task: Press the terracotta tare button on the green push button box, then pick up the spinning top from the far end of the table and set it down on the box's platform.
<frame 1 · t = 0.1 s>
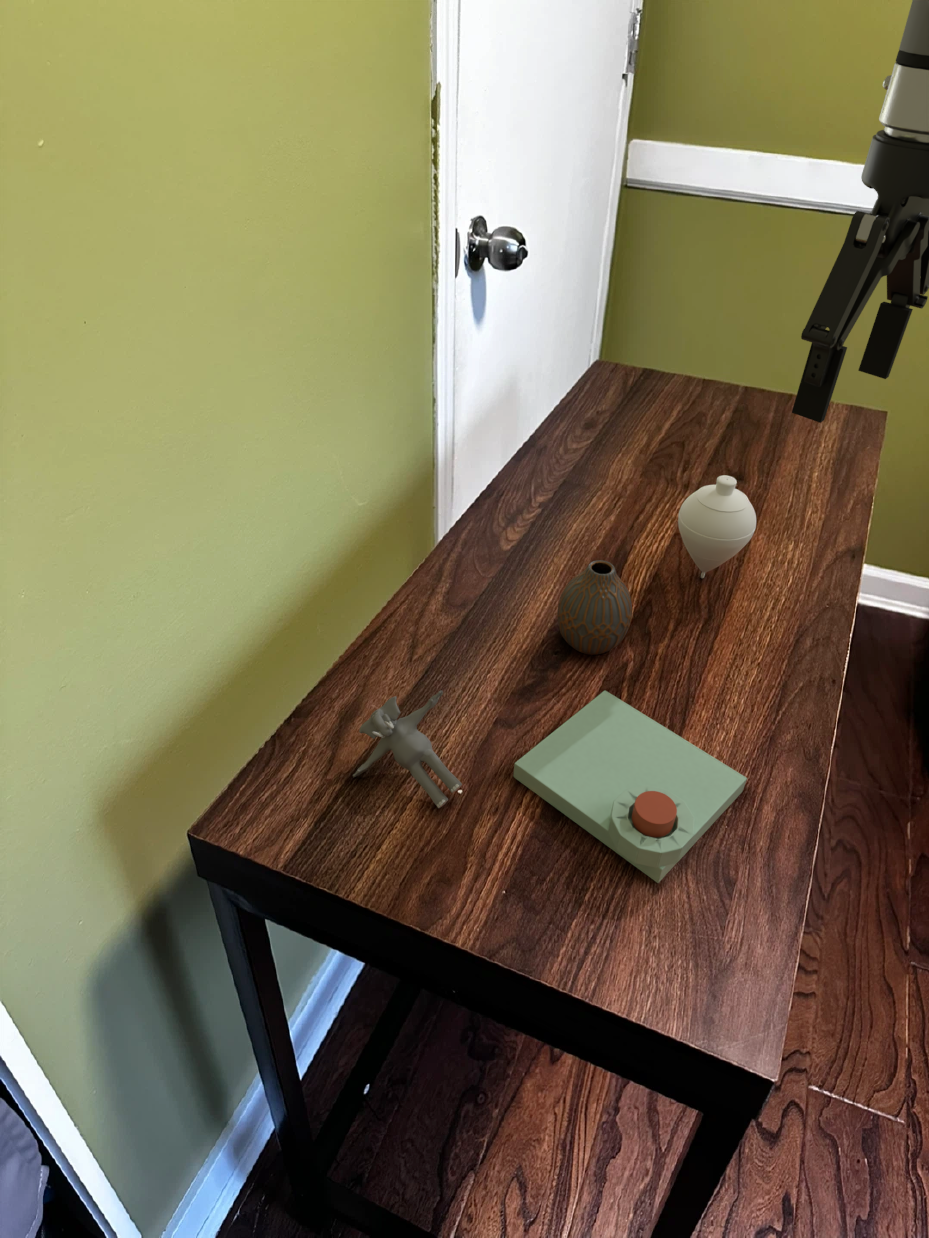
hand: (841, 394, 79), 21 cm above the table, tool pointing down, fingers open, 13 cm apart
tare button: (653, 813, 62), point 4 cm above the table, slide at 0.1 cm
spinning top: (701, 579, 91), on the table
vase: (589, 642, 83), on the table
elephant figurine: (416, 771, 70), on the table
green push button box: (627, 784, 69), on the table
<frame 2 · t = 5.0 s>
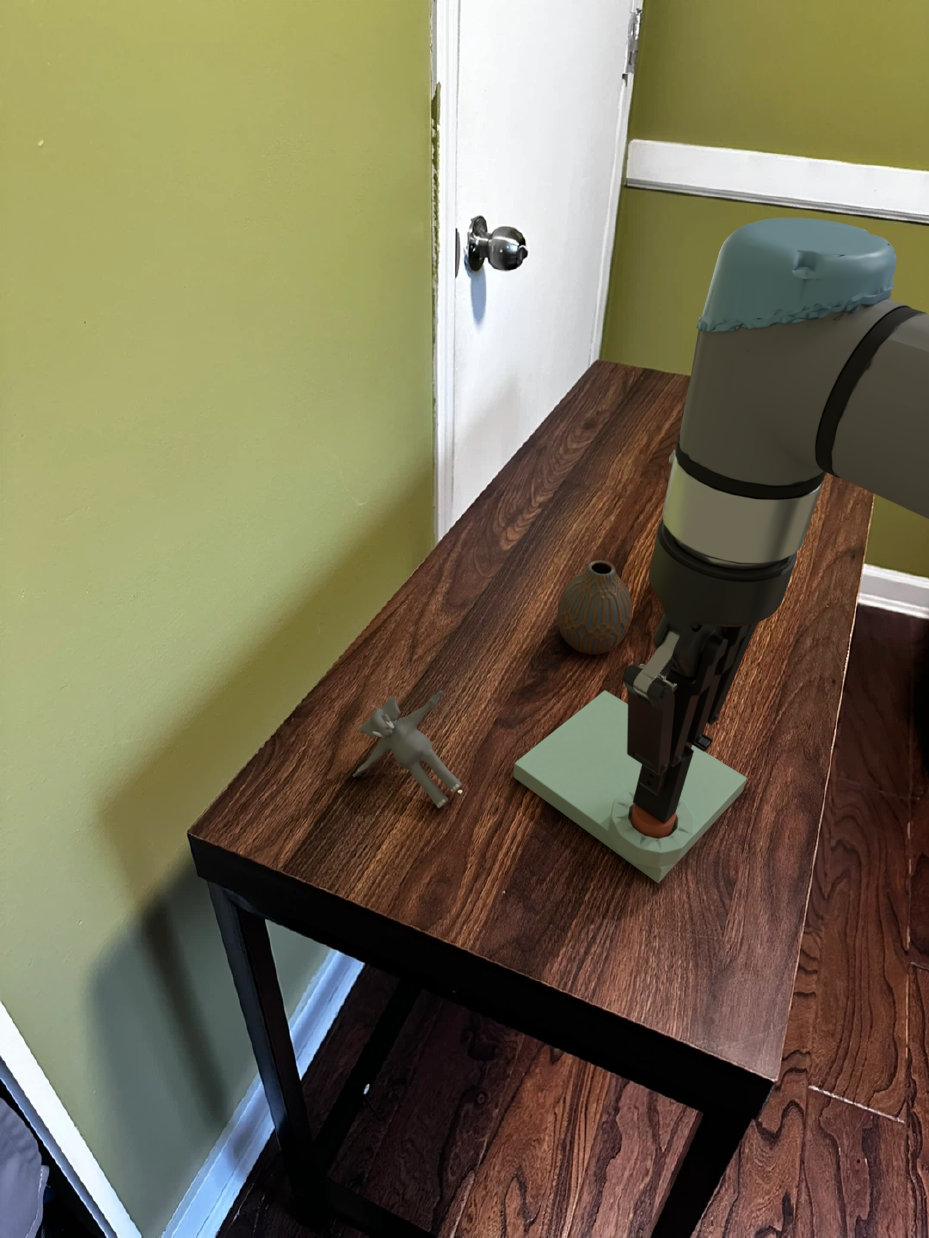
hand: (654, 806, 61), 5 cm above the table, tool pointing down, fingers closed
tare button: (653, 817, 62), point 4 cm above the table, slide at -0.2 cm, touching gripper
everything else where it was.
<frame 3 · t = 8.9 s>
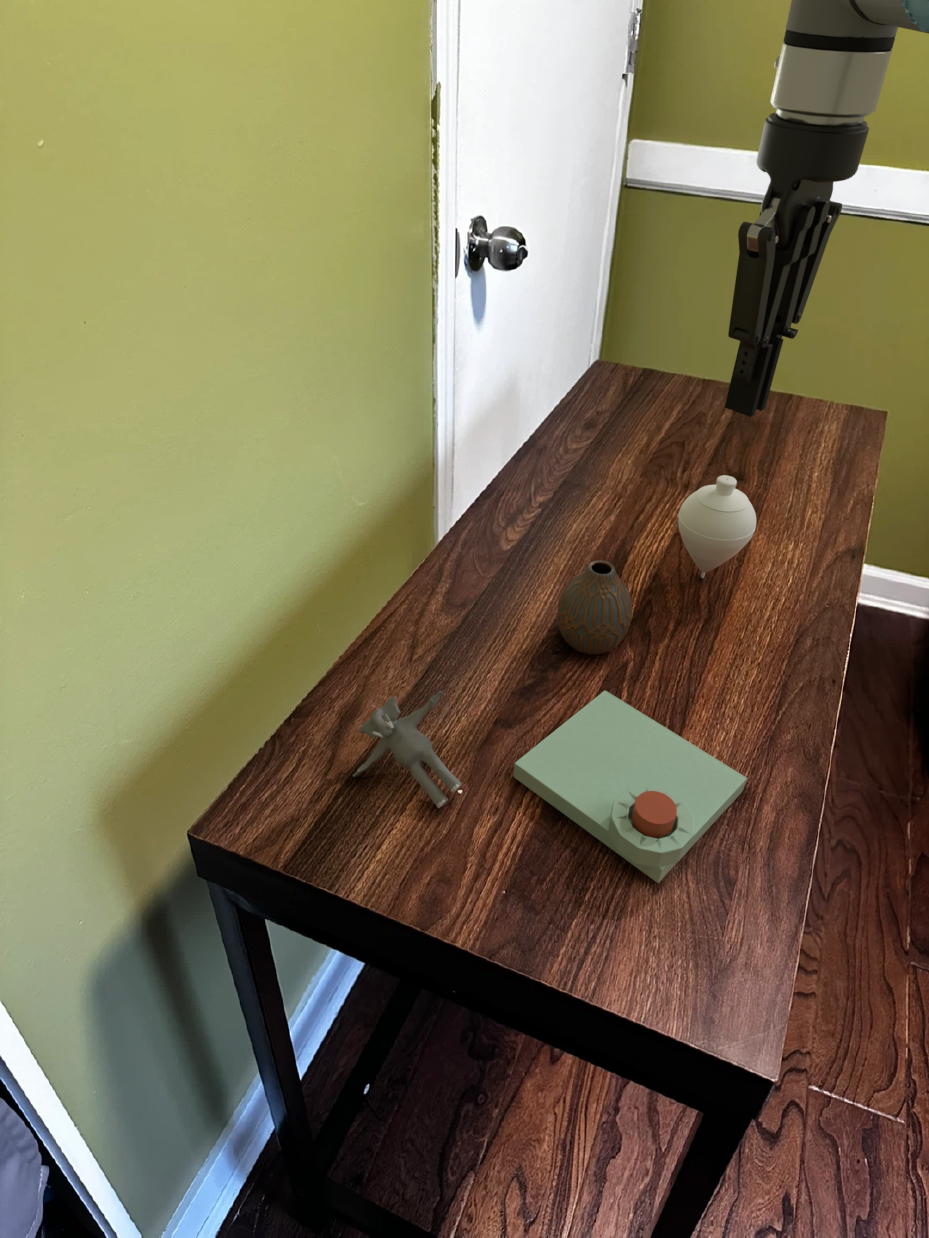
hand: (744, 407, 79), 20 cm above the table, tool pointing down, fingers closed
tare button: (654, 813, 62), point 4 cm above the table, slide at 0.1 cm
everything else where it was.
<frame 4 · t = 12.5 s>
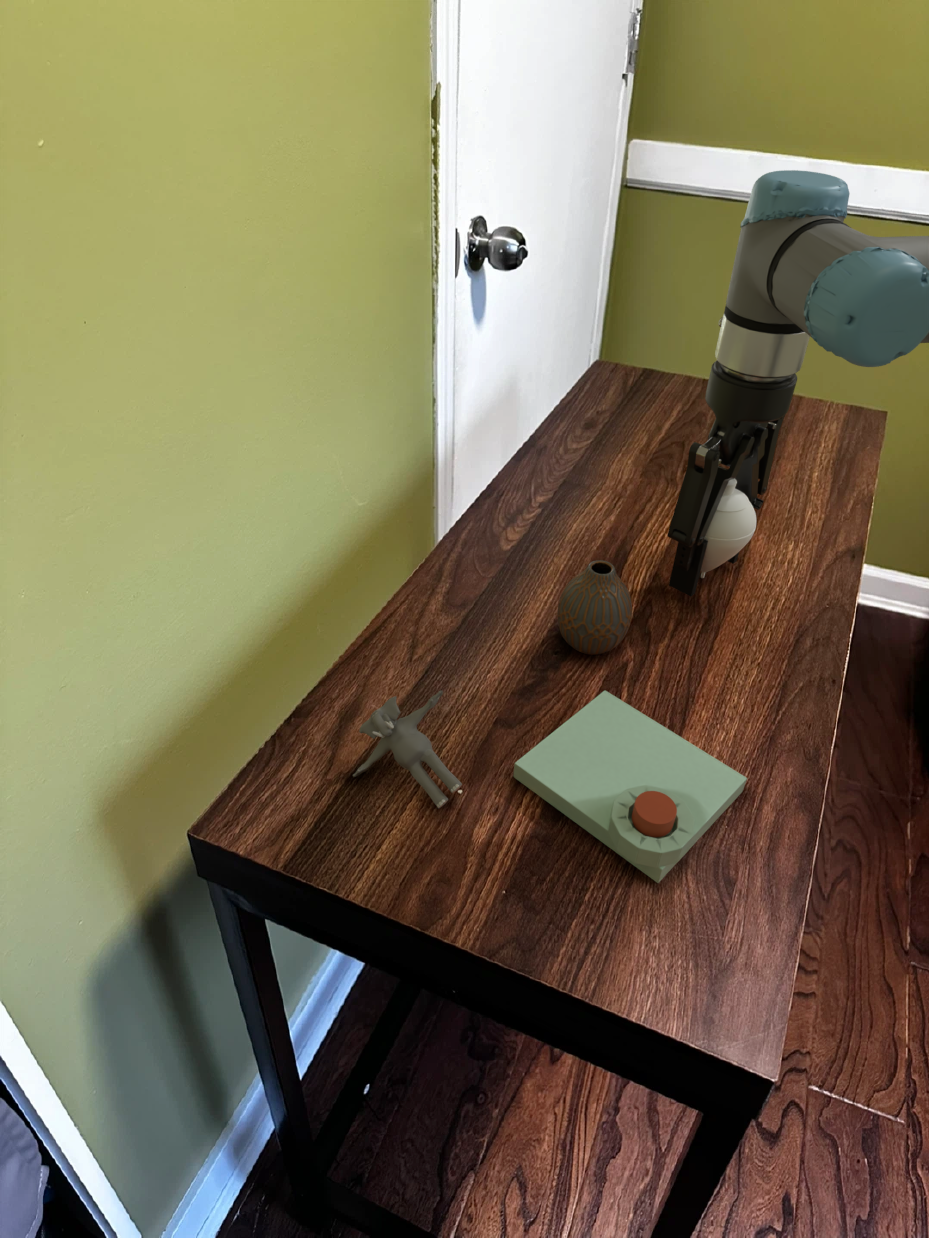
hand: (703, 572, 91), 1 cm above the table, tool pointing down, fingers closed on spinning top, 8 cm apart
spinning top: (701, 579, 91), on the table, touching gripper
everything else where it was.
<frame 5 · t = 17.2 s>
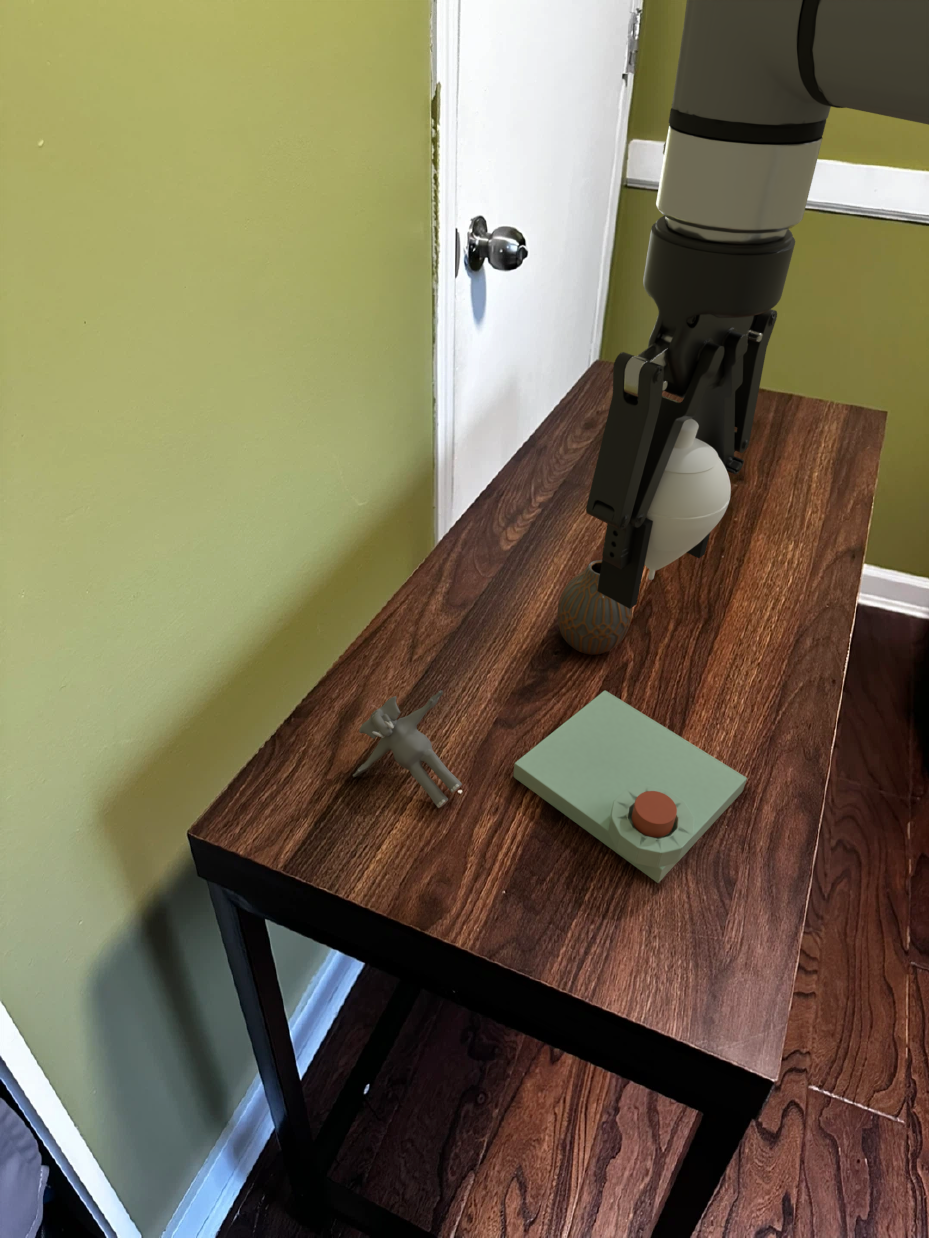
hand: (652, 571, 60), 19 cm above the table, tool pointing down, fingers closed on spinning top, 8 cm apart
spinning top: (650, 581, 60), point 18 cm above the table, touching gripper
everything else where it was.
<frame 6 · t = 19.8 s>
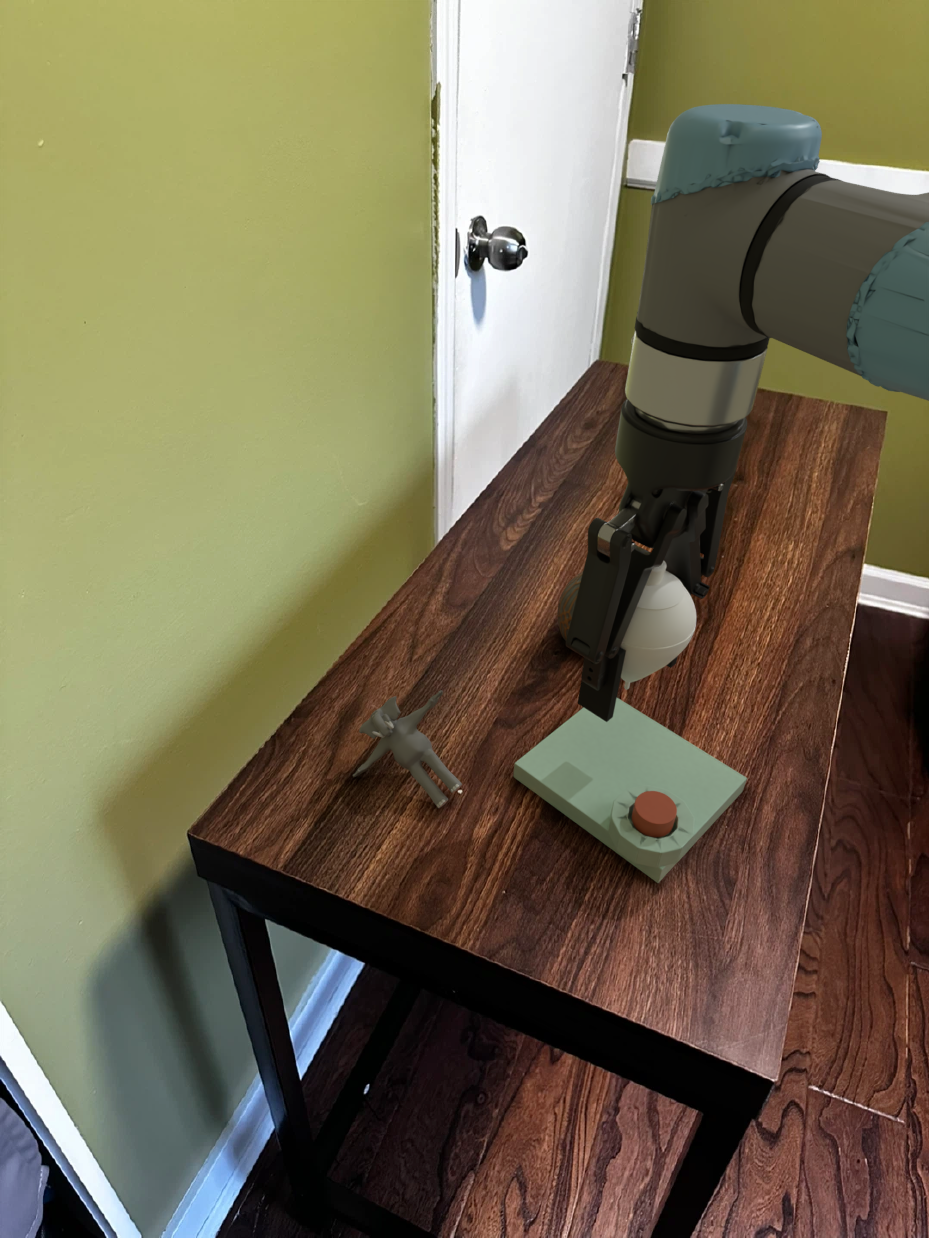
hand: (628, 682, 66), 9 cm above the table, tool pointing down, fingers closed on spinning top, 8 cm apart
spinning top: (626, 690, 66), point 8 cm above the table, touching gripper
everything else where it was.
when the fingers open (2 cm above the table, at t = 22.1 s): spinning top stays where it is, resting on green push button box.
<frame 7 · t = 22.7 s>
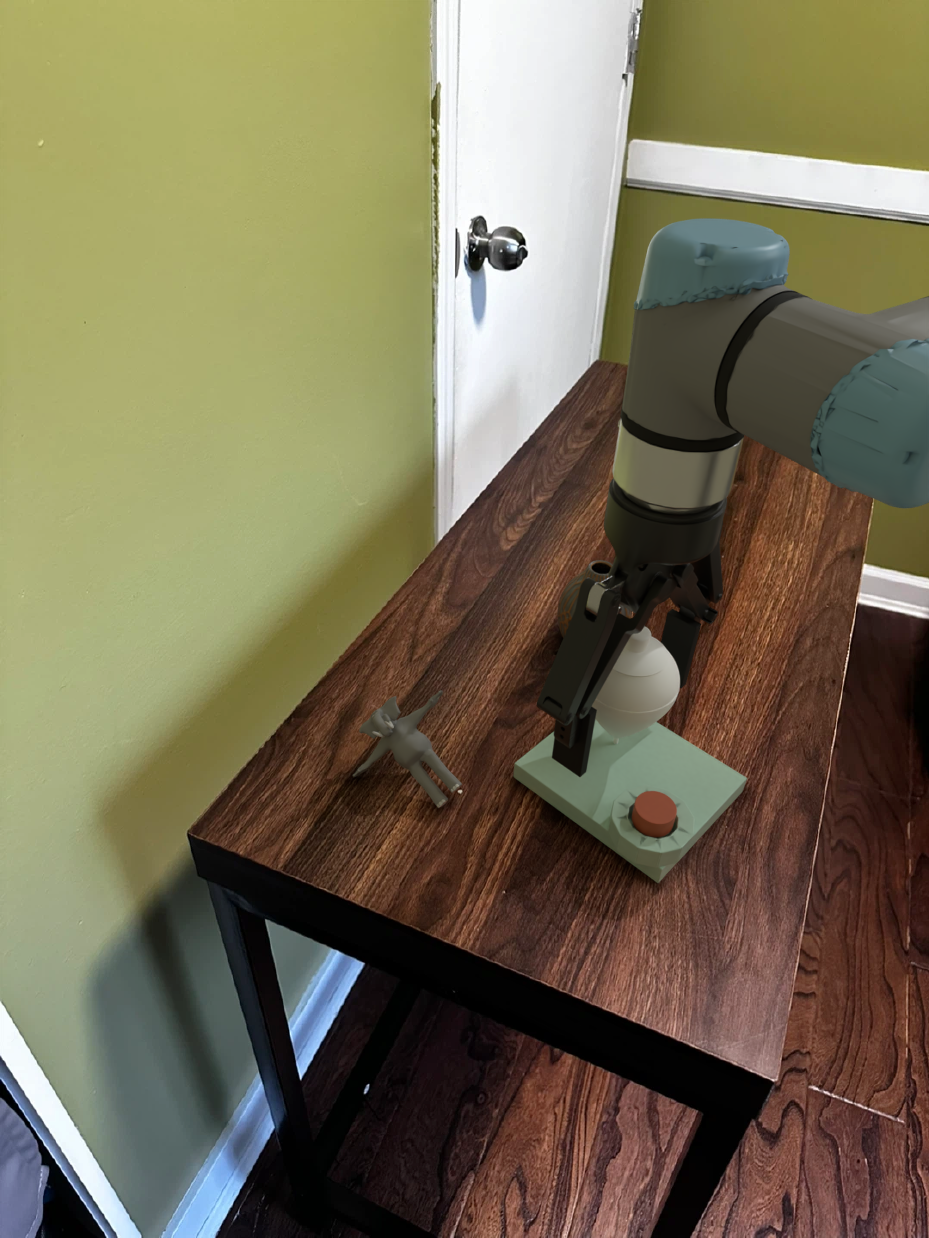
hand: (622, 719, 68), 5 cm above the table, tool pointing down, fingers open, 13 cm apart
spinning top: (615, 744, 70), point 2 cm above the table, touching green push button box
everything else where it was.
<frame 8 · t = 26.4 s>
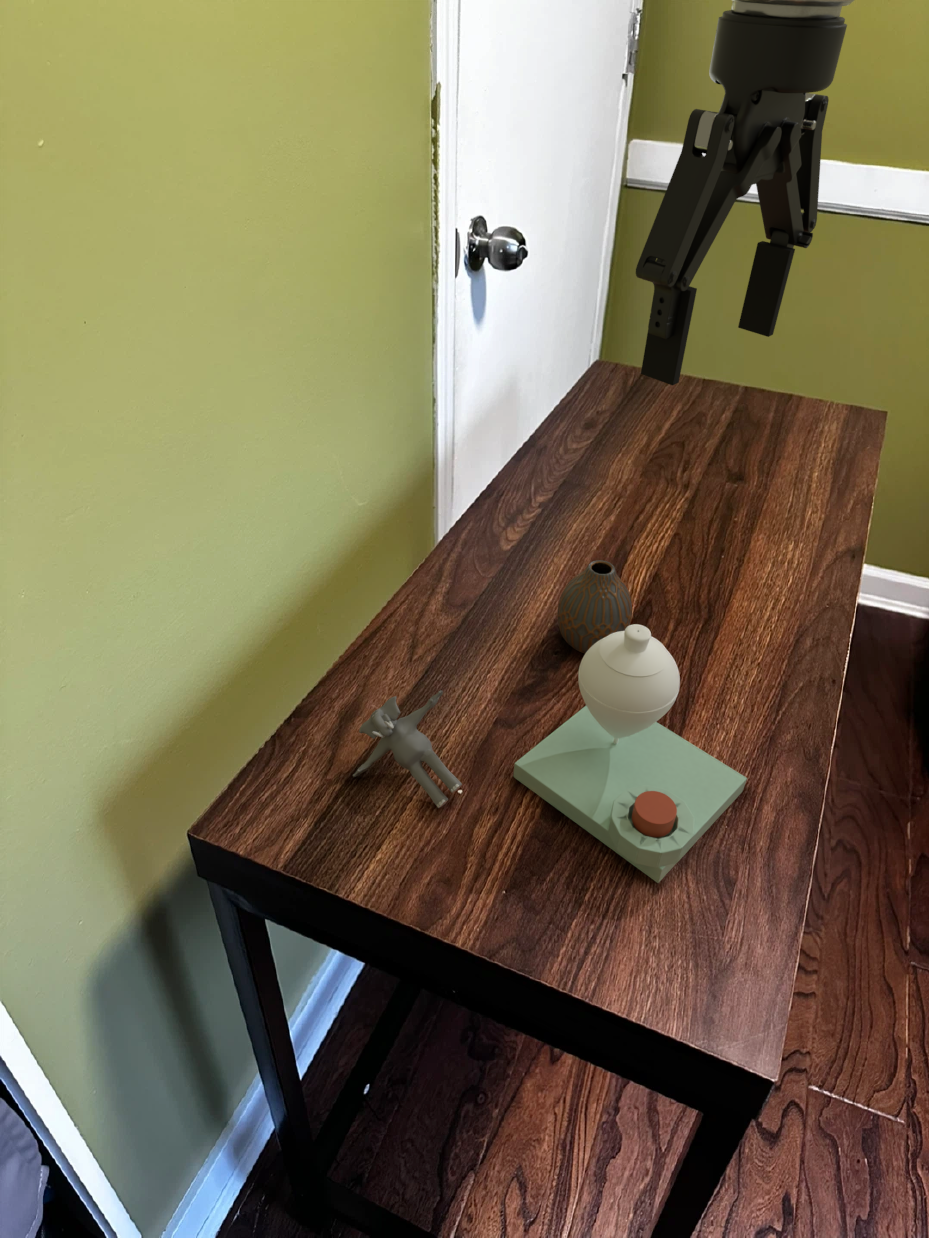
hand: (710, 354, 65), 29 cm above the table, tool pointing down, fingers open, 13 cm apart
nothing on the table moved.
at the end: tare button pushed in 1.0 cm at the most during the clip, back to where it started at the end; spinning top inside the target area on the green push button box (1.9 cm from its centre), point 1.5 cm above the green push button box's base; spinning top touching green push button box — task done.
